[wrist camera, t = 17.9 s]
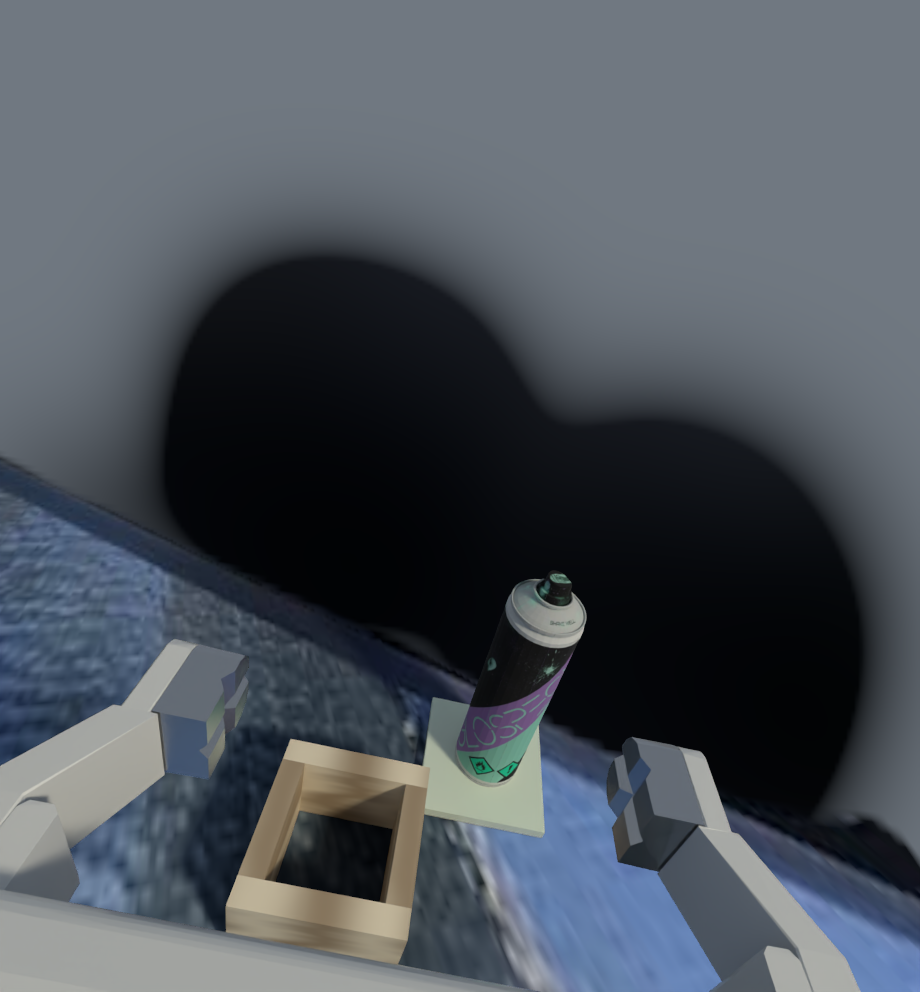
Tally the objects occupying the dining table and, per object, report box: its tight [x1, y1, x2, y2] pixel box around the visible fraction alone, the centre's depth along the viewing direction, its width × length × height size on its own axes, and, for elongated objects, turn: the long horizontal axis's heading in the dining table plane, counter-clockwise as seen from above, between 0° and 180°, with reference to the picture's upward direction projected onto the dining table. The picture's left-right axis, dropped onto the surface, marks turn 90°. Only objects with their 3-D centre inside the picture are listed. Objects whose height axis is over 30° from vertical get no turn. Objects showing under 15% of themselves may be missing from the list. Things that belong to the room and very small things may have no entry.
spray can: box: [455, 571, 586, 787], centre depth 40 cm, size 6×6×20 cm
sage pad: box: [422, 697, 545, 838], centre depth 45 cm, size 10×10×1 cm
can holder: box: [226, 739, 430, 965], centre depth 35 cm, size 10×10×6 cm
